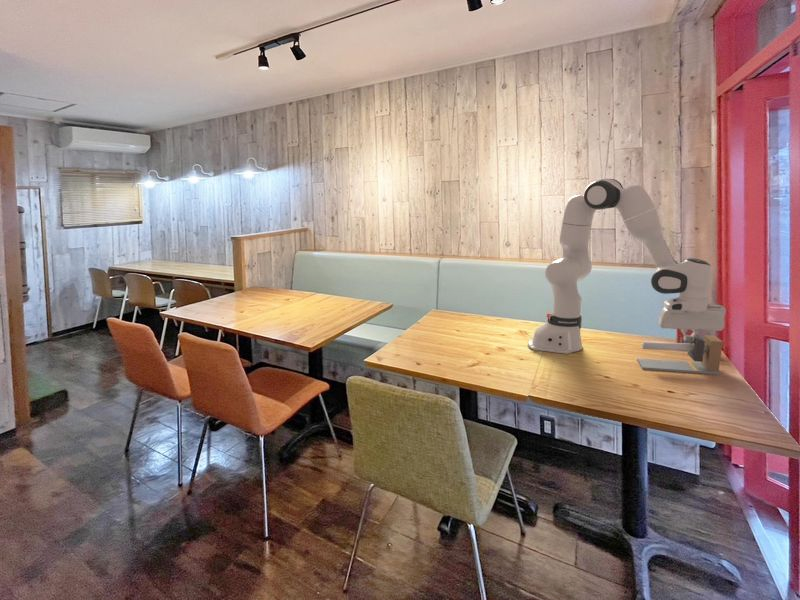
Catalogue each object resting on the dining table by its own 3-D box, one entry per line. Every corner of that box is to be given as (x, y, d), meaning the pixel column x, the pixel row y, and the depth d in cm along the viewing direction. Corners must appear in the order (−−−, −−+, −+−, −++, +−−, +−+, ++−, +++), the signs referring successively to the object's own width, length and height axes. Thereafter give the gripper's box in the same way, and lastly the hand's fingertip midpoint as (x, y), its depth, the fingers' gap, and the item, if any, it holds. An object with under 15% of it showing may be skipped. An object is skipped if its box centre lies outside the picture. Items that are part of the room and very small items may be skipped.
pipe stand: (642, 369, 166) (645, 338, 163) (637, 360, 174) (640, 331, 171) (720, 374, 159) (724, 342, 156) (710, 365, 167) (715, 334, 164)
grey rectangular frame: (694, 361, 161) (696, 341, 159) (687, 353, 168) (690, 334, 166) (702, 361, 160) (705, 341, 158) (695, 354, 167) (697, 335, 165)
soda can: (698, 349, 183) (701, 319, 180) (678, 349, 184) (682, 319, 181) (690, 343, 190) (694, 314, 187) (672, 343, 191) (675, 314, 188)
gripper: (723, 302, 160) (718, 339, 163) (659, 301, 166) (655, 336, 169) (730, 307, 154) (724, 345, 157) (663, 305, 160) (659, 341, 163)
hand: (688, 340), depth 163 cm, fingers closed
